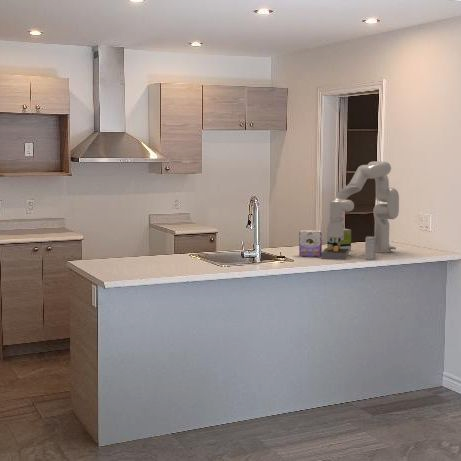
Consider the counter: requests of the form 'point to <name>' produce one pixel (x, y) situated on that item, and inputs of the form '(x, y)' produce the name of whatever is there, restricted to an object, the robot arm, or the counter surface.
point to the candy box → (310, 243)
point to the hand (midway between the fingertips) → (335, 248)
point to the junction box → (369, 248)
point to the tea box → (343, 243)
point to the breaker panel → (335, 254)
